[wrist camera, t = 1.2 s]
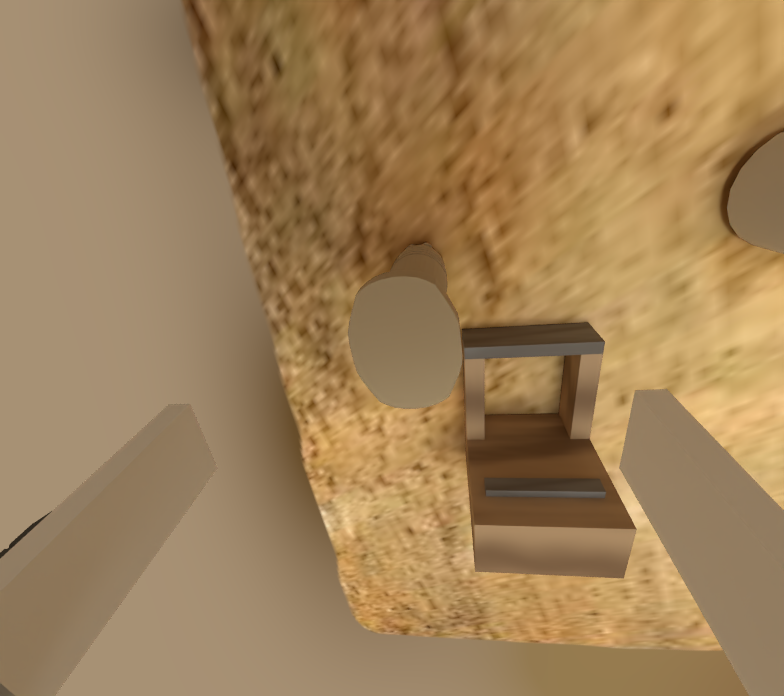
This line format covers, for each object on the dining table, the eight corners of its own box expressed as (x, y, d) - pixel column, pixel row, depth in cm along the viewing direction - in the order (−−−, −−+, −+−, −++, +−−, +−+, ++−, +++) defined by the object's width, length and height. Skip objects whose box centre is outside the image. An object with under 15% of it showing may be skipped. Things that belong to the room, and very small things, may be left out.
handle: (397, 303, 31) (366, 412, 18) (384, 224, 29) (335, 284, 15) (456, 296, 30) (467, 405, 17) (447, 214, 28) (453, 268, 14)
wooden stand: (462, 329, 32) (472, 416, 21) (588, 322, 30) (667, 413, 20) (465, 455, 38) (475, 571, 27) (570, 455, 36) (623, 578, 26)
